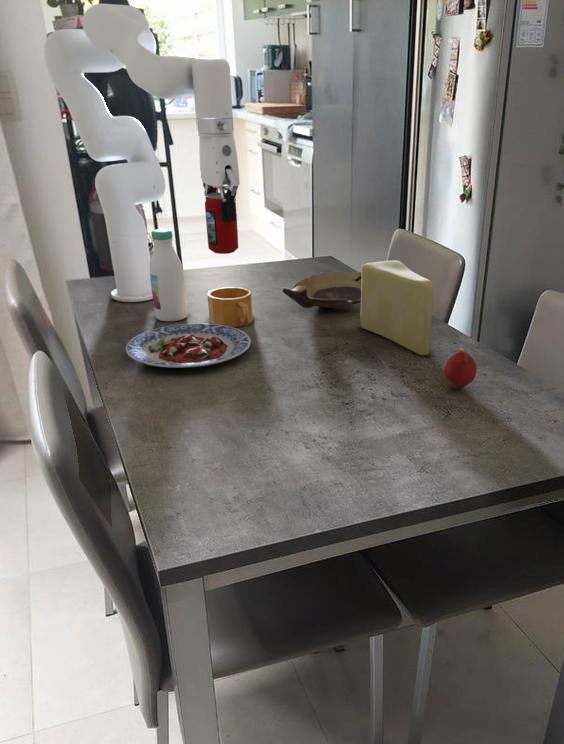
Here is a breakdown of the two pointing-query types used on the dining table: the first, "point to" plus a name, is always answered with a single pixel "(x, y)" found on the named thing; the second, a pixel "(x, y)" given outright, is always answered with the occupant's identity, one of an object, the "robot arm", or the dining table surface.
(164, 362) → the ceramic plate
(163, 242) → the milk bottle
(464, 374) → the onion
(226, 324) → the mug
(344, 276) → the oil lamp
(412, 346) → the cheese
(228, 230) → the beverage can
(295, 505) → the dining table surface
